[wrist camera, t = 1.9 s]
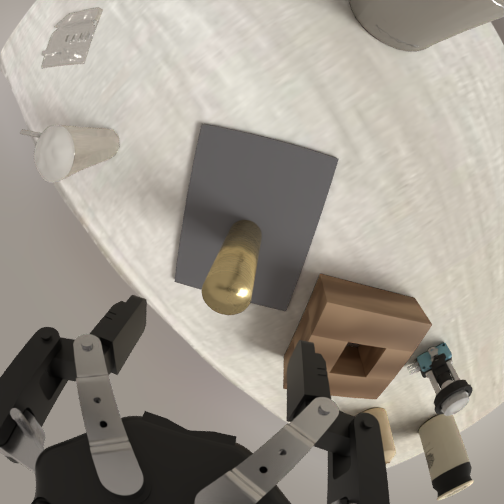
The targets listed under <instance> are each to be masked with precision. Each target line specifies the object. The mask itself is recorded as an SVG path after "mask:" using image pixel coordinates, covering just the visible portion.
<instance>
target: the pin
mask: <svg viewBox="0 0 504 504" xmlns="http://www.w3.org/2000/svg"><path fill="white" fill-rule="evenodd" d="M261 238H262V233H261V230H260V228H259V227H258V225H257V224H256V223H254V222H252V221H250V220H240V221H237V222H236V223H234V224H233V225H232V227H231V228H230V230H229V232H228V234H227V236H226V238H225V240H224V242H223V245H222V247H221V249H220V251H219V253H218V255H217V257H216V259H215V261H214V263H213V265H212V267H211V269H210V271H209V273H208V275H207V277H206V280H205V282H204V284H203V286H202V296H203V299H204V301H205V303H206V304H207V305H208V306H209V307H210V308H211V309H212V310H214V311H216V312H218V313H220V314H224V315H234V314H238V313H241V312H242V311H244V310H245V309H246V308H247V307H248V306H249V304H250V302H251V297H252V292H253V286H254V280H255V274H256V268H257V262H258V256H259V250H260V244H261Z"/></svg>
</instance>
